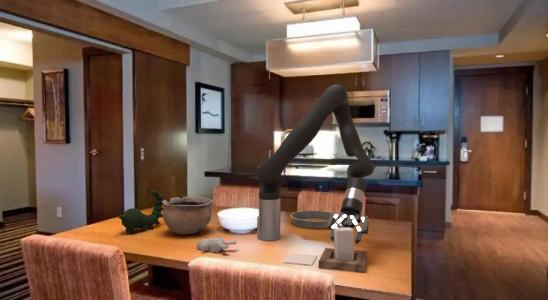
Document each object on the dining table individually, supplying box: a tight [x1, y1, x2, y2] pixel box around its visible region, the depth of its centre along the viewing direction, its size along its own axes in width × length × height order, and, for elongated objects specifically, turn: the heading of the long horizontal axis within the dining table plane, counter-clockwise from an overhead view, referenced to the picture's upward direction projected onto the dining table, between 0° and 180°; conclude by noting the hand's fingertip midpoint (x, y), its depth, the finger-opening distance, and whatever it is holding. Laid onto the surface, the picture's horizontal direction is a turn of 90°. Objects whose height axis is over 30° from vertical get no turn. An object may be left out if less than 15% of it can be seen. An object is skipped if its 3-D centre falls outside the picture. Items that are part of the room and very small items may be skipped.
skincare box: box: [333, 227, 355, 261], centre depth 131 cm, size 6×4×12 cm
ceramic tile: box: [283, 252, 318, 267], centre depth 135 cm, size 10×10×1 cm
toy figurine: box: [117, 190, 165, 235], centre depth 176 cm, size 9×19×25 cm
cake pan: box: [289, 210, 339, 230], centre depth 190 cm, size 25×25×4 cm
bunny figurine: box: [195, 236, 238, 254], centre depth 145 cm, size 10×5×15 cm
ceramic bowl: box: [162, 196, 213, 236], centre depth 172 cm, size 22×22×15 cm
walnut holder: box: [318, 247, 368, 274], centre depth 131 cm, size 15×15×2 cm
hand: (344, 241), depth 131 cm, fingers open, 8 cm apart
